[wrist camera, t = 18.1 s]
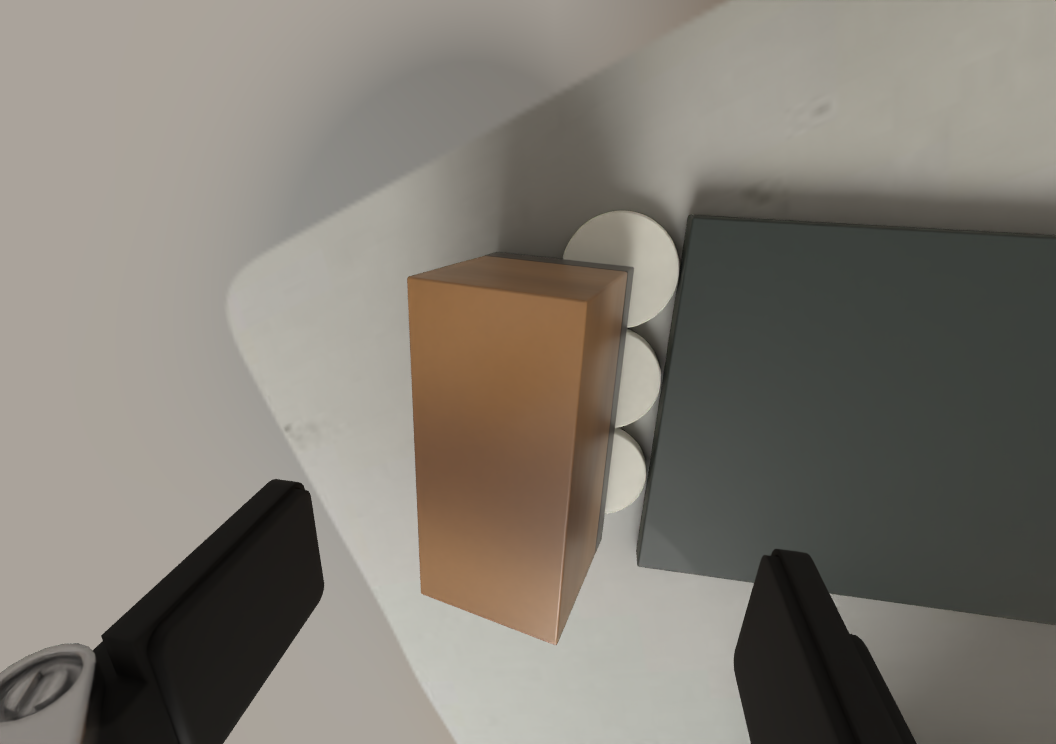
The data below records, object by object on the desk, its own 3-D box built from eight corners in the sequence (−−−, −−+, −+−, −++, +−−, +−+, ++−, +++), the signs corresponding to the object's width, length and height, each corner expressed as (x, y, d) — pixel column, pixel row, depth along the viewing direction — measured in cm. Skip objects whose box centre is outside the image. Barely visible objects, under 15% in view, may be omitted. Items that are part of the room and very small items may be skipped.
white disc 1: (538, 267, 18) (536, 270, 18) (624, 183, 17) (624, 184, 16) (613, 346, 19) (613, 351, 18) (702, 272, 17) (705, 275, 17)
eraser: (496, 251, 18) (406, 276, 13) (634, 266, 16) (587, 300, 12) (491, 505, 22) (420, 594, 17) (601, 538, 21) (556, 646, 16)
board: (688, 214, 17) (692, 216, 16) (1585, 264, 14) (1654, 271, 13) (635, 550, 22) (637, 567, 21) (1281, 638, 19) (1316, 662, 18)
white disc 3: (557, 411, 20) (556, 418, 20) (657, 434, 20) (658, 442, 19) (539, 493, 22) (537, 502, 21) (631, 516, 21) (632, 525, 21)
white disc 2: (557, 319, 19) (555, 324, 18) (667, 329, 18) (669, 334, 18) (550, 416, 20) (548, 423, 20) (651, 427, 20) (653, 434, 19)
